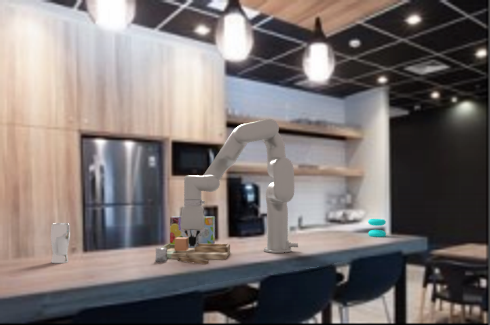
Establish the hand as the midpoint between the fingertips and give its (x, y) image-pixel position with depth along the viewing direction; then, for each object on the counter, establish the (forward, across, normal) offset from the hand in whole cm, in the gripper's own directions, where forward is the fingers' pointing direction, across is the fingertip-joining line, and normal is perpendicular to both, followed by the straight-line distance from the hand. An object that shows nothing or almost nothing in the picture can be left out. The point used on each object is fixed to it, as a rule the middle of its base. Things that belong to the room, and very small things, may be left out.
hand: (192, 245), depth 182 cm
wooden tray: (+4, -2, +3) cm, 5 cm away
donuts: (+4, -96, -73) cm, 121 cm away
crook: (+4, -4, +16) cm, 17 cm away
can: (+4, +9, +17) cm, 20 cm away
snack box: (+4, +4, -20) cm, 21 cm away
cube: (+2, +5, 0) cm, 5 cm away
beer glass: (+4, +48, +22) cm, 53 cm away
